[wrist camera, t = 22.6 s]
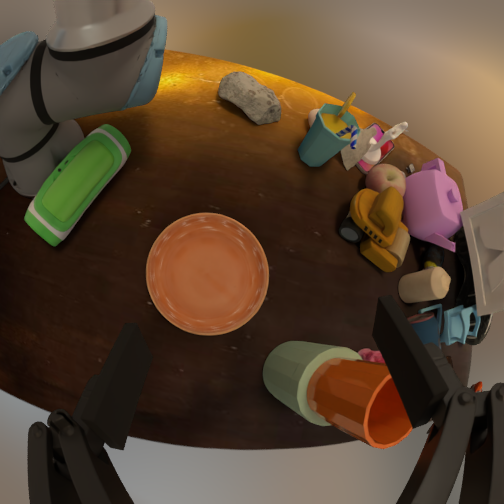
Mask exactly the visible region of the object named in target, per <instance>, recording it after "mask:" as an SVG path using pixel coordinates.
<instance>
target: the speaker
mask: <svg viewBox="0 0 504 504" xmlns="http://www.w3.org/2000/svg"><path fill="white" fill-rule="evenodd" d="M130 153H131V147H130V145H129V143H128V141H127V140H126V138H125V137H124V136H123V135H122V133H121V132H119V131H118V130H117V129H116V128H114V127H113V126H111V125H108V124H104V125H102V126H100V127H99V128H97V129H95V130H94V131H92V132H91V133H90V134H89V135H88V136H87V137H86V138H85V139H84V140H82V141H81V142H80V143H79V144H77V145H76V146H75V147H74V148H73V149H72V150H71V152H70V153H69V154H68V155H67V156H66V157H65V158H64V159H63V160H62V162H61V163H60V164H59V165H58V166H57V167H56V169H55V170H54V171H53V172H52V173H51V175H50V176H49V177H48V178H47V179H46V181H45V182H44V183H43V185H42V187H41V188H40V190H39V192H38V193H37V195H36V196H35V198H34V199H33V200H32V202H31V203H30V205H29V207H28V210H27V212H26V215H25V218H24V220H25V221H26V223H27V224H28V225H29V226H30V227H31V228H32V229H33V230H34V231H35V232H36V233H37V234H38V235H40V236H41V237H42V238H43V239H44V240H46V241H47V242H48V243H49V244H51V245H52V246H57V245H58V244H59V243H60V242H61V241H62V240H64V239H65V238H66V237H67V235H68V234H69V233H70V231H71V230H72V229H73V227H74V226H75V224H76V223H77V222H78V220H79V219H80V218H81V216H82V215H83V213H84V211H85V210H86V209H87V208H88V207H89V206H90V205H91V203H92V202H93V200H94V199H95V198H96V197H97V196H98V194H99V193H100V192H101V191H102V190H103V188H104V187H105V186H106V184H108V183H109V181H110V180H111V179H112V178H113V177H114V176H115V174H116V173H117V172H118V171H119V170H120V169H121V168H122V166H123V165H124V164H125V162H126V160H127V159H128V157H129V155H130Z"/></svg>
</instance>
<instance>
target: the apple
mask: <svg viewBox="0 0 504 504" xmlns="http://www.w3.org/2000/svg"><path fill="white" fill-rule="evenodd" d="M365 184H366V188H367V189H371V190H373V191H375V192H376V191H377V192H378V193H379V194H380V193H381V192H383V191H384V190H385V189H387V188H388V187H390V186H392V187H394V188H395V189H396V190H398V191H399V193H400V194H401V196H402V198H403V196H404V193H405V190H406V180H405V177H404V175H403V174H402V172H401V171H400V170H399V169H398V168H397V167H395V166H392V165H389V164H379V165H376V166H374V167H373V168H372V169H371V170H370V171H369V172H368V174H367V176H366V179H365Z"/></svg>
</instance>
